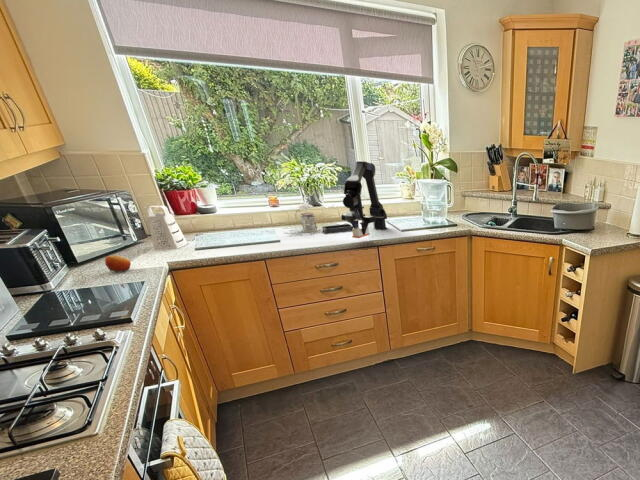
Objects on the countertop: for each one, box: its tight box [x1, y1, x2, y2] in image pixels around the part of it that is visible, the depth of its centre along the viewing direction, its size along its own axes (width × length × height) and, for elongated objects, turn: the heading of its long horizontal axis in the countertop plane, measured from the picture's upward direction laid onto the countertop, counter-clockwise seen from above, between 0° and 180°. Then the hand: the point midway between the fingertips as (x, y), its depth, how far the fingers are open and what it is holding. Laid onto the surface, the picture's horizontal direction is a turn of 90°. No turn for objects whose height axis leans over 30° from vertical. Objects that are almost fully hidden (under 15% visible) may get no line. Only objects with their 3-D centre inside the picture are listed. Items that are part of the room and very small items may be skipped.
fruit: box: [104, 254, 132, 275], centre depth 177 cm, size 8×8×8 cm
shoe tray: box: [321, 223, 354, 234], centre depth 253 cm, size 16×8×2 cm, turn 125°
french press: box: [294, 186, 320, 233], centre depth 246 cm, size 10×12×25 cm
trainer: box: [351, 225, 370, 239], centre depth 228 cm, size 9×4×4 cm, turn 160°
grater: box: [146, 205, 188, 250], centre depth 210 cm, size 10×10×20 cm
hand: (360, 234), depth 229 cm, fingers closed on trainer, 4 cm apart
